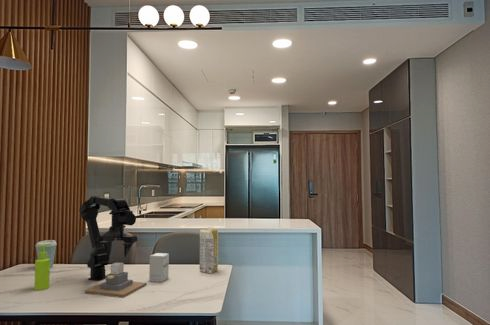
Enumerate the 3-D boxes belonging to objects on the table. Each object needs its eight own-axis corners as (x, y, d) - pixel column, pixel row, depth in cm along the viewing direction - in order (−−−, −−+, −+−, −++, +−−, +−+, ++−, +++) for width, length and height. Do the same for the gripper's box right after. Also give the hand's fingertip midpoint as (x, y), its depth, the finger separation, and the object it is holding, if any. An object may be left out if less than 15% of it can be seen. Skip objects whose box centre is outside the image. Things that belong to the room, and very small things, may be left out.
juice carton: (219, 270, 194) (220, 227, 195) (210, 274, 187) (211, 228, 188) (206, 268, 199) (206, 225, 200) (197, 271, 192) (197, 227, 193)
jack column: (110, 286, 160) (110, 264, 161) (115, 284, 164) (116, 262, 164) (117, 287, 159) (118, 265, 159) (123, 284, 163) (123, 263, 163)
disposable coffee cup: (49, 270, 194) (50, 243, 195) (30, 270, 194) (31, 242, 195) (59, 265, 205) (60, 239, 205) (41, 265, 205) (42, 239, 206)
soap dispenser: (53, 286, 165) (55, 243, 166) (41, 290, 159) (42, 246, 160) (44, 285, 167) (45, 242, 168) (31, 289, 161) (32, 245, 162)
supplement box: (162, 282, 172) (163, 256, 173) (148, 281, 174) (149, 255, 174) (168, 278, 180) (169, 253, 180) (155, 277, 181) (155, 252, 182)
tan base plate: (84, 293, 155) (84, 277, 156) (110, 281, 173) (110, 267, 173) (123, 297, 150) (124, 280, 150) (146, 285, 167) (146, 270, 168)
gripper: (90, 225, 166) (89, 258, 165) (124, 226, 161) (124, 261, 160) (105, 222, 176) (104, 254, 176) (138, 223, 171) (137, 256, 171)
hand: (117, 256), depth 170 cm, fingers open, 9 cm apart
